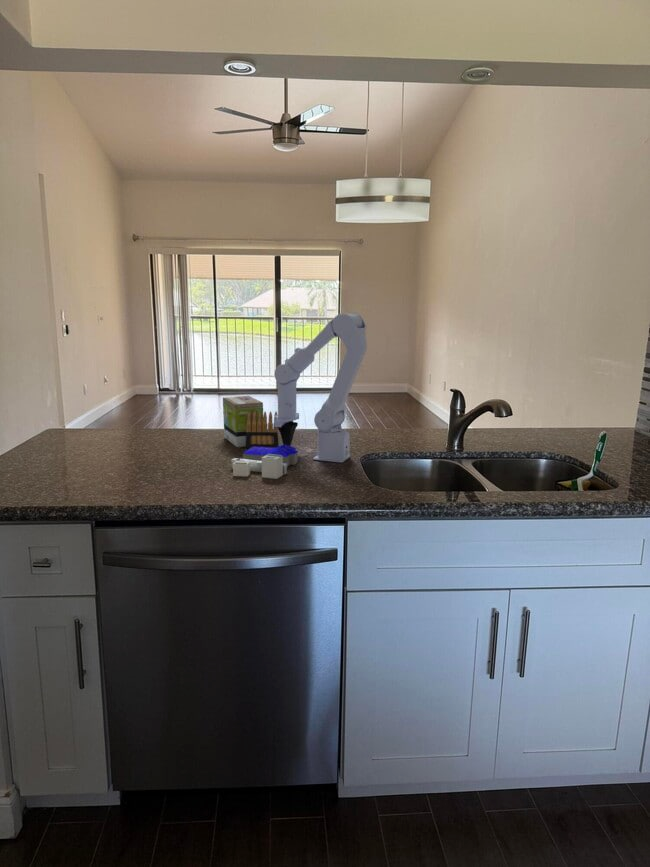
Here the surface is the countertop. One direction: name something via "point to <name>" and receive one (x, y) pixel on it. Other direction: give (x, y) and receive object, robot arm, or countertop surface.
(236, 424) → the tea box
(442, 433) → the countertop surface
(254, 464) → the rail
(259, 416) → the ammunition clip
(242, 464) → the block
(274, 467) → the block
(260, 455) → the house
